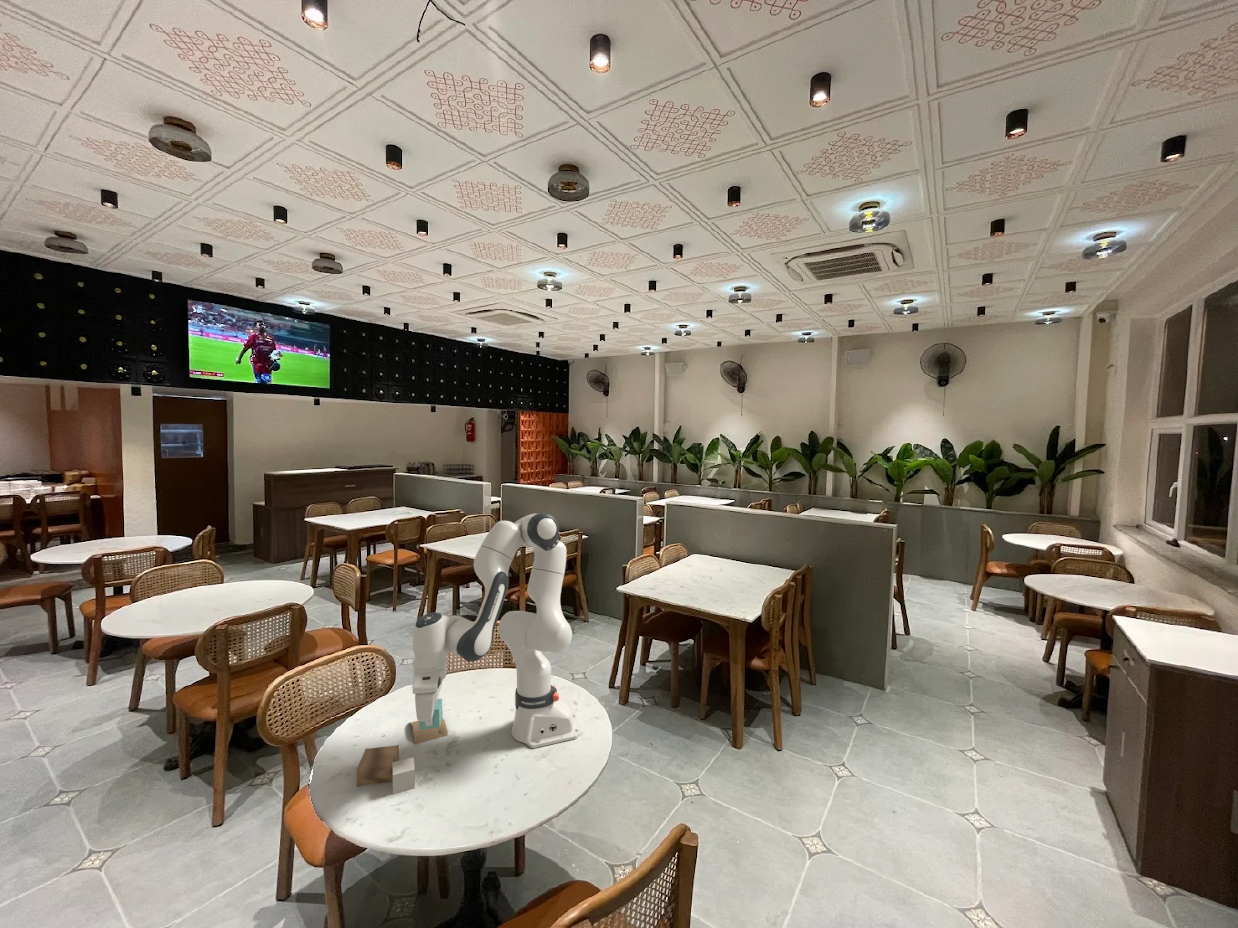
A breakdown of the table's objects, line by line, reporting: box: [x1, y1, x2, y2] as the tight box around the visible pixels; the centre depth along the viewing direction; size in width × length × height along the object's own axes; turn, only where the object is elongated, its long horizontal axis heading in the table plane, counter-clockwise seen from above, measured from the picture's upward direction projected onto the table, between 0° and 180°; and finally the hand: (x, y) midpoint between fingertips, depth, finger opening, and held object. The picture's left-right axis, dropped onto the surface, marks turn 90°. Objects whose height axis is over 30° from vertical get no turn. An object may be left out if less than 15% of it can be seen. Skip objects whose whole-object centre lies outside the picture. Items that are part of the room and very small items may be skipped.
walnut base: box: [356, 744, 400, 787], centre depth 139 cm, size 9×9×5 cm
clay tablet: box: [409, 717, 448, 746], centre depth 160 cm, size 14×10×3 cm
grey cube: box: [391, 756, 416, 795], centre depth 135 cm, size 6×6×6 cm
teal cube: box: [419, 698, 443, 730], centre depth 140 cm, size 6×6×6 cm
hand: (431, 717), depth 140 cm, fingers closed on teal cube, 5 cm apart
